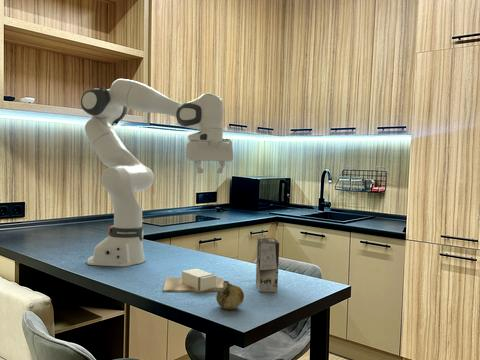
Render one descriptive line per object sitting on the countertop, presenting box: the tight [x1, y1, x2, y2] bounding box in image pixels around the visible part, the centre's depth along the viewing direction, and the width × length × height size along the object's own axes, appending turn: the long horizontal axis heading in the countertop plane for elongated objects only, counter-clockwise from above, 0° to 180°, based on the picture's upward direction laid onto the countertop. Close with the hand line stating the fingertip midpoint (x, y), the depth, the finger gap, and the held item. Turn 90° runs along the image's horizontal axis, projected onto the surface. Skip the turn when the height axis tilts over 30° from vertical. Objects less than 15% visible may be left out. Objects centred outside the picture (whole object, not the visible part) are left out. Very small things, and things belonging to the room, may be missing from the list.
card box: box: [181, 267, 217, 291], centre depth 142 cm, size 4×6×11 cm
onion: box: [215, 280, 245, 310], centre depth 123 cm, size 8×8×8 cm
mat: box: [162, 277, 225, 293], centre depth 144 cm, size 20×14×1 cm
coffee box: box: [255, 237, 280, 293], centre depth 143 cm, size 9×6×16 cm
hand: (210, 173), depth 164 cm, fingers open, 8 cm apart
